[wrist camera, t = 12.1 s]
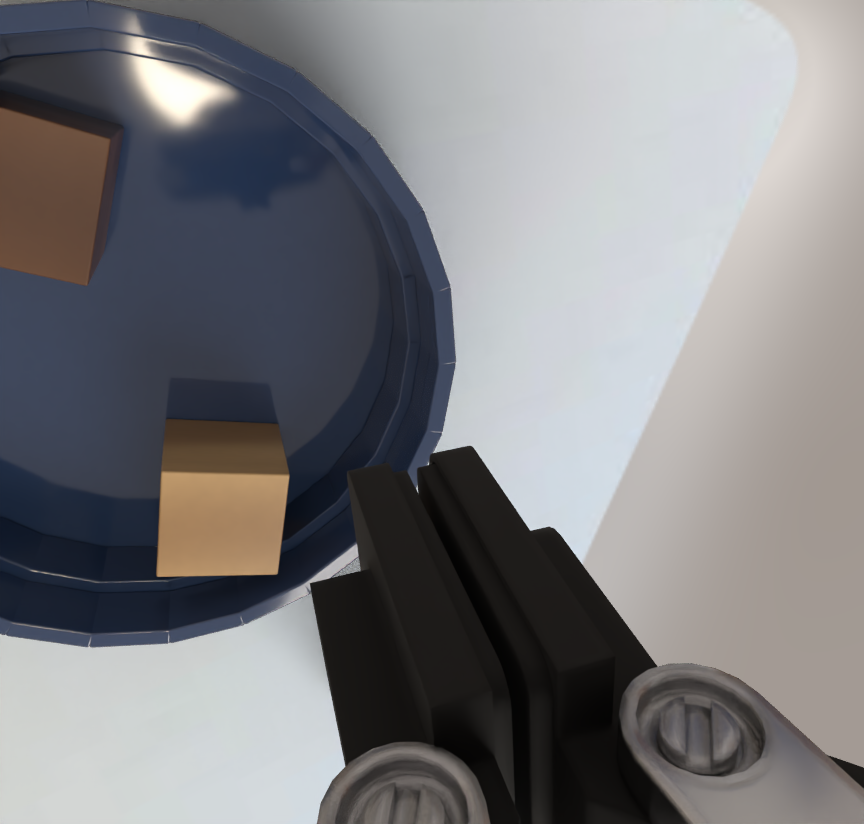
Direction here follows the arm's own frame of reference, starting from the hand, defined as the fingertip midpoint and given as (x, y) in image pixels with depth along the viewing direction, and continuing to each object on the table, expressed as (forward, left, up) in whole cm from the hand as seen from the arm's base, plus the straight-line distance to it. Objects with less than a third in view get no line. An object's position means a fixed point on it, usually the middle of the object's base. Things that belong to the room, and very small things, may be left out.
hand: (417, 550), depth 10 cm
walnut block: (-3, -7, -18) cm, 19 cm away
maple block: (+8, -4, -18) cm, 20 cm away
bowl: (+2, -5, -18) cm, 19 cm away
